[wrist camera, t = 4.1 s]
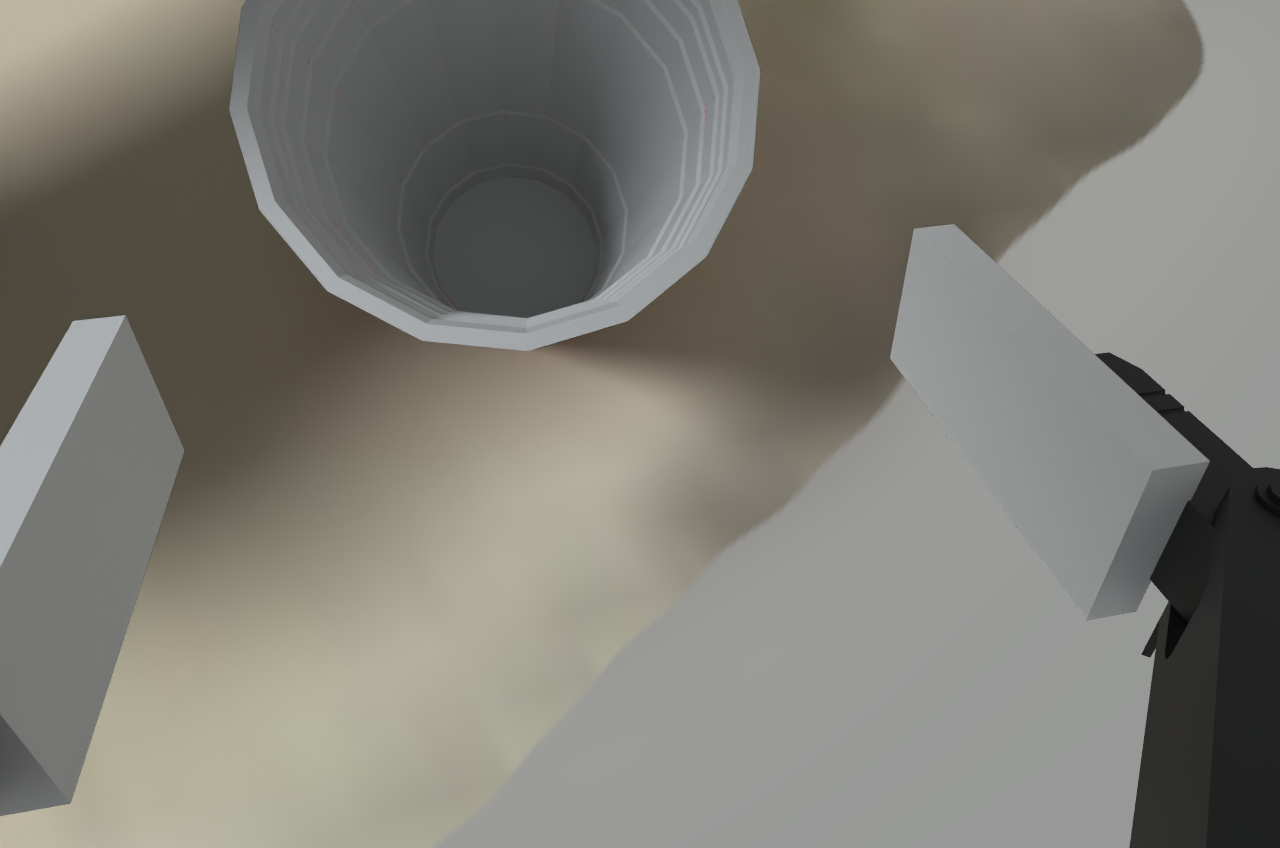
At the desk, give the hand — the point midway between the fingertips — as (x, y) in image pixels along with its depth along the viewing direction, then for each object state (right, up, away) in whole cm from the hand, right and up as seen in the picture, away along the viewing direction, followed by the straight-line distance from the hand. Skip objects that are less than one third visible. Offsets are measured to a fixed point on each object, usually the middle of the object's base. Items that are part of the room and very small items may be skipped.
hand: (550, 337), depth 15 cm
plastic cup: (-3, +4, +14) cm, 15 cm away
